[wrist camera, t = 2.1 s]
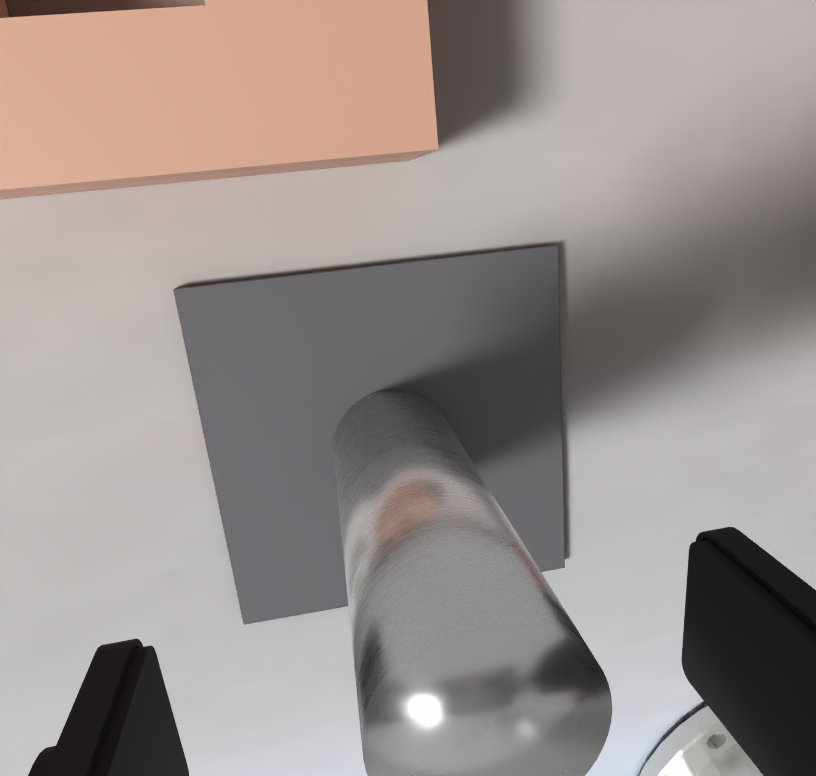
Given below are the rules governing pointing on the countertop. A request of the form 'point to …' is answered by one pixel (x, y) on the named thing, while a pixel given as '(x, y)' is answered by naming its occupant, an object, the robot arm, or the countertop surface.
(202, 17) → the hole block
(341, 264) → the countertop surface
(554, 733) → the steel pin
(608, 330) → the countertop surface
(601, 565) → the countertop surface
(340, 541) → the rubber mat
